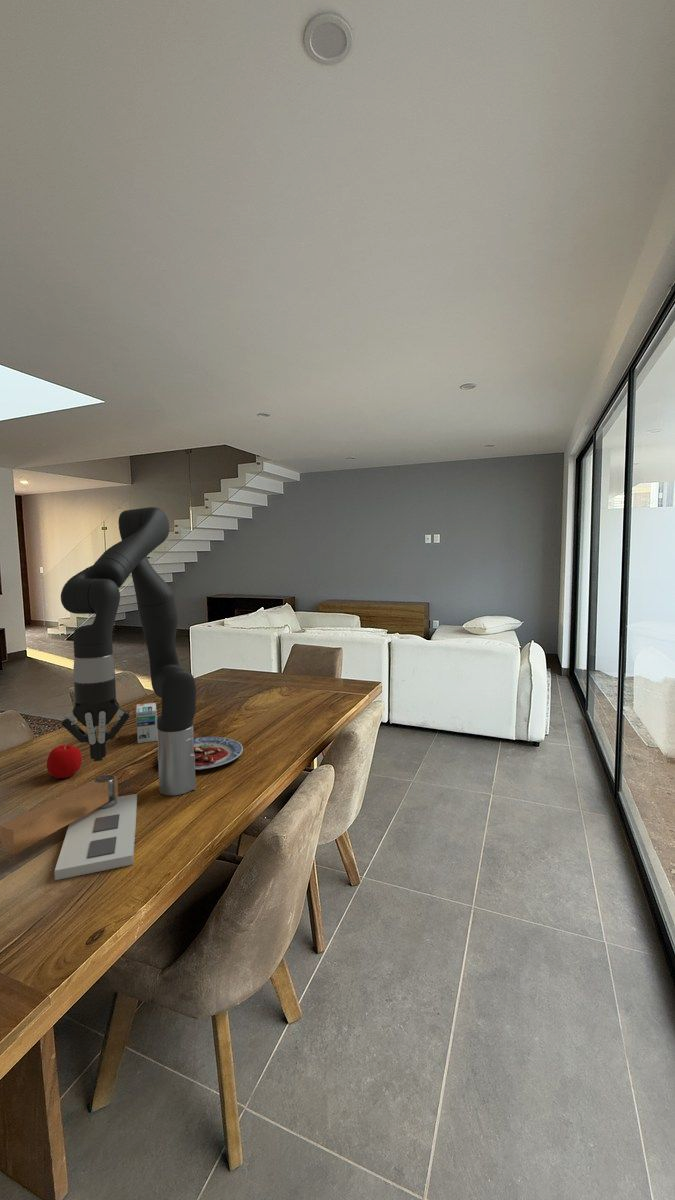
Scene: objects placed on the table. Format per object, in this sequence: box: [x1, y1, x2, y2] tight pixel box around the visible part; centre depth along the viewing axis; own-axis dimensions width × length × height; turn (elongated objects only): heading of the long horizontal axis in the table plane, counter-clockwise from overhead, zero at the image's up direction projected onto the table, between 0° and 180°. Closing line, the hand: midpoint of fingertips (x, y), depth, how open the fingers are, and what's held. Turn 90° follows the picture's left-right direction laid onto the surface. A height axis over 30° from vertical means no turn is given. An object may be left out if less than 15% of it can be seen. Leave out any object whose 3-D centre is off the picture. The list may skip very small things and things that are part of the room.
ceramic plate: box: [194, 736, 244, 771], centre depth 154 cm, size 26×26×3 cm
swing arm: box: [0, 773, 119, 855], centre depth 110 cm, size 4×26×5 cm, turn 157°
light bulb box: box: [135, 702, 158, 744], centre depth 171 cm, size 11×7×11 cm, turn 22°
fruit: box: [46, 740, 83, 779], centre depth 141 cm, size 9×9×10 cm
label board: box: [54, 793, 138, 881], centre depth 111 cm, size 14×28×3 cm, turn 21°
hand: (98, 759), depth 101 cm, fingers closed
